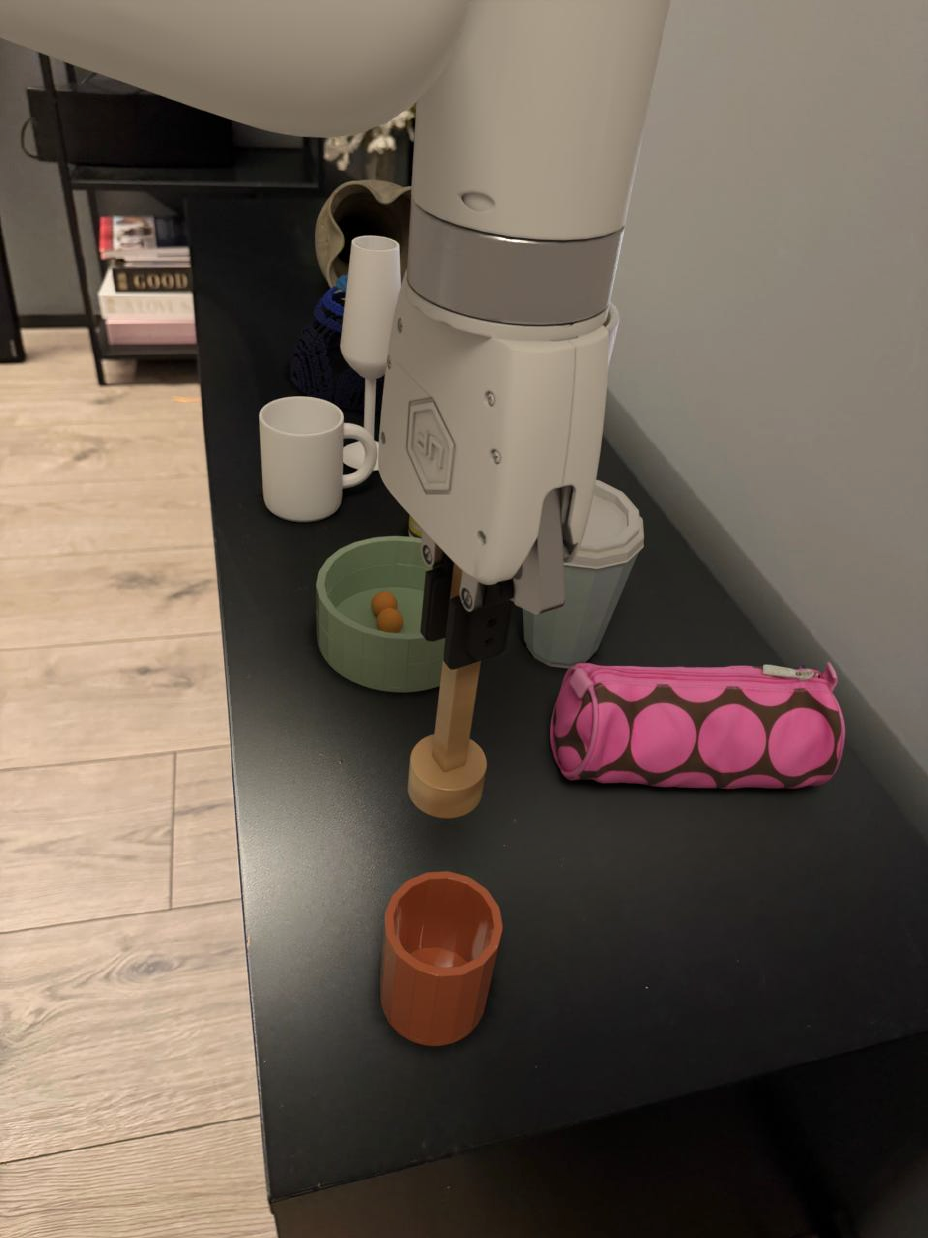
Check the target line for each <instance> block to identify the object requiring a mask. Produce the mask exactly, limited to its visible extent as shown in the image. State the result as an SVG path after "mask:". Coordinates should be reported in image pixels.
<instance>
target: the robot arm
mask: <svg viewBox="0 0 928 1238" xmlns="http://www.w3.org/2000/svg"><path fill="white" fill-rule="evenodd" d="M671 2H672V1H671V0H0V39H3V40H4V41H5V40H6V41H8V42H11V43H13V44H15V45H19V46H21V47H24V48H26V49H28V50H32V51H34V52H37V53H40V54H42V55H44V56H48V57H50V58H53V59H55V60H57V61H62V62H64V63H67V64H69V65H72V66H75V67H77V68H80V69H83V70H87V71H89V72H93V73H96V74H100V75H102V76H105V77H107V78H110V79H113V80H116V81H119V82H121V83H124V84H127V85H129V86H133V87H136V88H139V89H140V90H143V91H147V92H150V93H152V94H155V95H158V96H162V97H164V98H166V99H169V100H172V101H175V102H177V103H181V104H183V105H186V106H189V107H191V108H195V109H198V110H200V111H204V112H207V113H209V114H213V115H216V116H219V117H222V118H224V119H227V120H231V121H234V122H237V123H240V124H243V125H247V126H250V127H253V128H256V129H260V130H262V131H266V132H271V133H277V134H281V135H286V136H291V137H292V136H293V137H302V138H304V137H305V138H325V139H326V138H327V139H333V138H337V137H344V136H345V137H346V136H351V135H357V134H361V133H364V132H366V131H369V130H371V129H374V128H378V127H379V126H382V125H384V124H387V123H389V122H390V121H392V120H393V119H395V118H397V116H399V115H401V114H402V113H404V112H405V111H407V110H408V109H410V108H412V107H413V106H414V105H415V104H416V106H415V119H414V120H415V122H414V123H415V124H414V137H413V139H414V140H413V155H412V156H413V157H412V172H411V173H412V175H411V186H412V188H411V195H412V196H411V209H410V226H409V243H408V260H407V269H406V271H405V274H404V278H403V281H402V285H401V288H400V292H399V296H398V300H397V305H396V309H395V314H394V318H393V324H392V330H391V336H390V342H389V349H388V356H387V363H386V371H385V375H384V378H385V380H384V383H383V386H384V389H383V399H382V409H381V411H380V423H379V433H378V442H379V448H378V469H379V470H378V473H379V475H380V478H381V481H382V482H383V484H384V486H385V487H386V489H387V490H388V492H389V493H390V494H391V495H392V496H393V497H394V499H395V500H396V501H397V503H399V505H400V506H401V507H402V508H403V509H404V510H405V512H406V513H407V514H409V517H410V516H411V517H412V518H413V519H414V520H415V521H416V522H417V523H418V524H419V526H420V527H421V528H422V540H421V554H422V558H423V561H424V563H425V564H426V565H427V566H428V567H433V569H432V570H429V571H426V574H425V585H424V596H423V607H422V618H421V629H420V633H421V634H422V635H423V637H424V638H425V639H426V640H427V641H432V642H433V641H437V640H440V639H444V638H445V646H444V654H443V661H444V663H445V664H446V665H447V666H448V668H449V669H451V670H455V669H458V668H461V667H464V666H467V665H470V664H473V663H476V662H479V661H481V662H482V661H485V660H488V659H491V658H494V657H497V656H500V655H501V654H502V653H504V652H505V650H506V648H507V642H508V636H509V631H510V625H511V618H512V612H513V606H514V605H515V606H516V607H518V608H521V609H522V610H523V609H525V610H527V611H529V612H531V613H533V614H535V615H538V614H542V613H545V612H548V611H551V610H554V609H558V608H561V607H563V606H564V604H565V583H564V563H568V562H571V561H572V560H573V559H574V557H575V556H576V554H577V552H578V550H579V548H580V545H581V542H582V540H583V537H584V533H585V530H586V526H587V522H588V518H589V514H590V509H591V504H592V499H593V494H594V489H595V483H596V480H597V477H598V470H599V464H600V456H601V450H602V441H603V433H604V425H605V414H606V403H607V389H608V373H609V366H608V346H609V331H608V330H607V329H606V328H605V326H604V325H603V323H604V322H605V321H606V318H607V315H608V310H609V305H610V302H611V298H612V293H613V290H614V285H615V280H616V279H615V278H616V274H617V269H618V264H619V258H620V253H621V250H622V249H621V248H622V244H623V238H624V235H625V229H626V222H627V217H628V213H629V207H630V202H631V197H632V192H633V187H634V182H635V177H636V172H637V169H638V162H639V157H640V152H641V147H642V143H643V138H644V134H645V127H646V123H647V118H648V113H649V108H650V103H651V99H652V93H653V88H654V83H655V78H656V73H657V69H658V64H659V59H660V54H661V50H662V45H663V40H664V34H665V31H666V25H667V20H668V15H669V11H670V5H671ZM454 563H455V564H456V565H457V566H458V567H459V568H460V569H461V570H463V571H462V577H461V584H460V591H459V595H458V596H455V597H453V598H452V599H450V593H451V584H452V575H453V566H454Z"/></svg>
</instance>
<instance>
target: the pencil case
mask: <svg viewBox="0 0 928 1238" xmlns="http://www.w3.org/2000/svg"><path fill="white" fill-rule="evenodd" d="M838 682H839V678H838V676H837V672H836V670H835V668H834V666H833V664H832V663H831V662H830V661H827V662H826V665H825V670H824V672H823V673H822V672H820V671H819V670H816V669H812V668H806V666H805V664H803V663H802V664H800V665H799V666H798V667H797V668H796V669H793V668H789V667H785V666H780V665H779V666H778V665H773V664H763V666H757V665H728V666H723V667H722V666H721V667H720V666H719V667H716V666H715V667H706V666H705V667H704V666H703V667H700V666H696V667H695V666H664V667H663V666H657V667H656V666H635V665H599V664H594V663H590V662H586V663H579V664H576V665H574V666H572V667H570V668H567V669H566V671H565V674H564V677H563V679H562V682H561V686H560V689H559V692H558V695H557V698H556V701H555V703H554V706H553V710H552V714H551V719H550V725H549V726H550V727H549V740H550V746H551V750H552V754H553V758H554V761H555V764H556V765H557V766H558V768H559V770H560V772H561V774H562V775H563V777H564V778H565V779H567V780H569V781H579V780H580V781H581V780H583V781H584V780H592V781H595V782H596V783H600V784H620V783H621V784H639V785H646V786H649V787H657V788H680V789H683V788H684V789H687V788H688V789H721V790H722V789H723V790H735V789H742V788H743V789H744V788H757V789H787V790H788V789H789V790H794V789H795V790H796V789H802V788H805V787H808V786H809V787H819V786H822V785H824V784H827V783H828V782H830V780H831V779H832V778H833V777H834V775H835V774H836V773H837V771H838V769H839V767H840V764H841V760H842V757H843V751H844V747H845V740H846V725H845V719H844V715H843V712H842V709H841V706H840V704H839V701H838V699H837V698H836V696H835V694H834V690H835V688H836V686H837V685H838Z"/></svg>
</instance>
